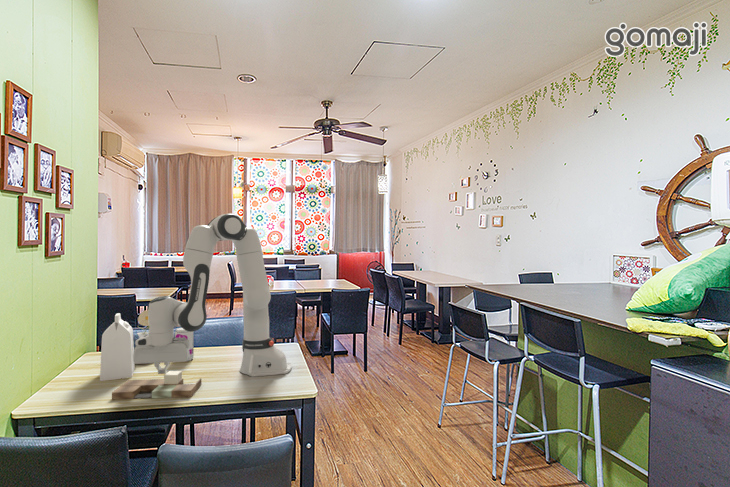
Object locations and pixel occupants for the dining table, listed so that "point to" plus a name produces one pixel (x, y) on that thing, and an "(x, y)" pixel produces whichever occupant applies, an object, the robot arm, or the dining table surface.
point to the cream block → (172, 377)
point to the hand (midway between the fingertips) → (162, 373)
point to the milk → (117, 351)
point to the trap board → (154, 389)
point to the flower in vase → (143, 323)
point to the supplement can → (188, 335)
